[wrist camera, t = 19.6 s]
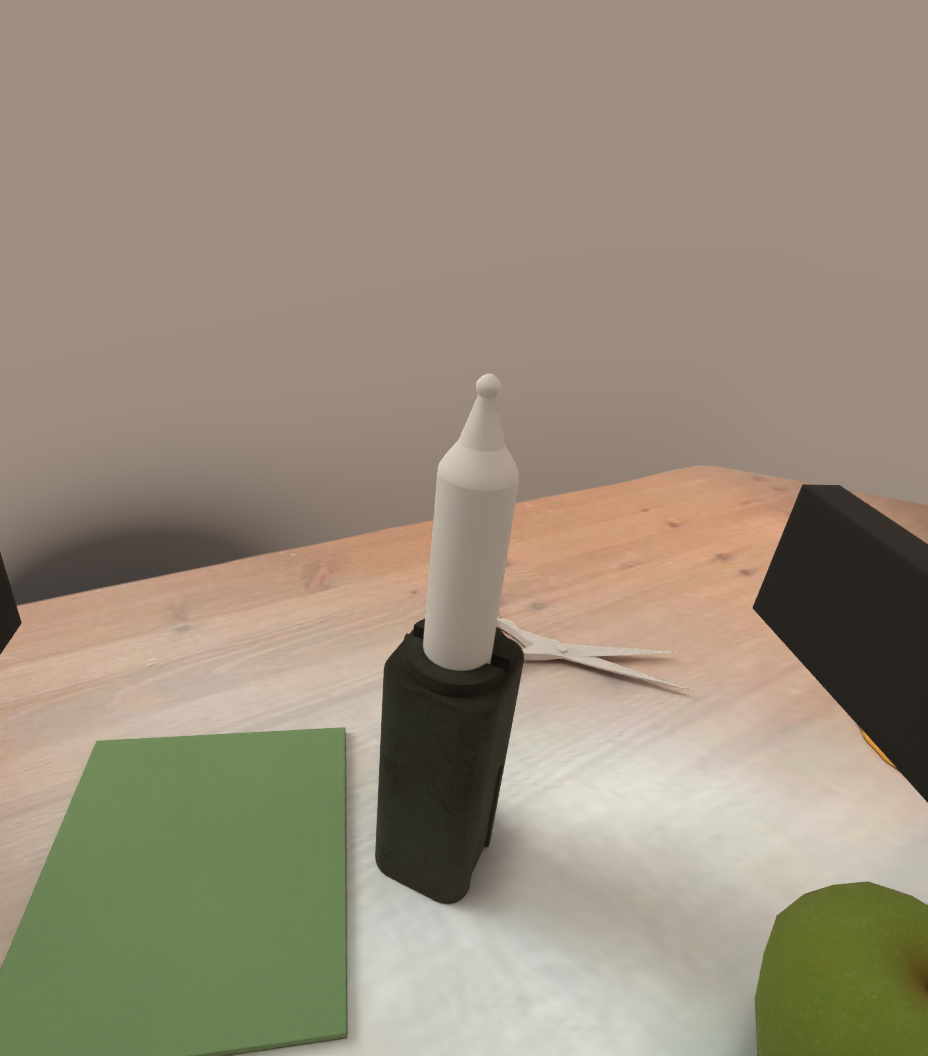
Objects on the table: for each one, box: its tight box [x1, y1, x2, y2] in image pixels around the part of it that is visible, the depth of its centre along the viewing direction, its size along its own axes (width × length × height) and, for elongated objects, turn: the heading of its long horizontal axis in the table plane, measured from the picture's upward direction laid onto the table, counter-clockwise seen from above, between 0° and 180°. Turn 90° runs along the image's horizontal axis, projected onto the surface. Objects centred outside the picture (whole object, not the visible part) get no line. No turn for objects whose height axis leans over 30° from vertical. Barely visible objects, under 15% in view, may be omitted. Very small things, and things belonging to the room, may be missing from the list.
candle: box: [375, 374, 524, 903], centre depth 27 cm, size 5×5×25 cm
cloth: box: [0, 727, 347, 1056], centre depth 31 cm, size 14×16×1 cm
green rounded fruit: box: [755, 882, 928, 1056], centre depth 22 cm, size 9×8×12 cm
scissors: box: [496, 618, 693, 691], centre depth 47 cm, size 11×1×20 cm
